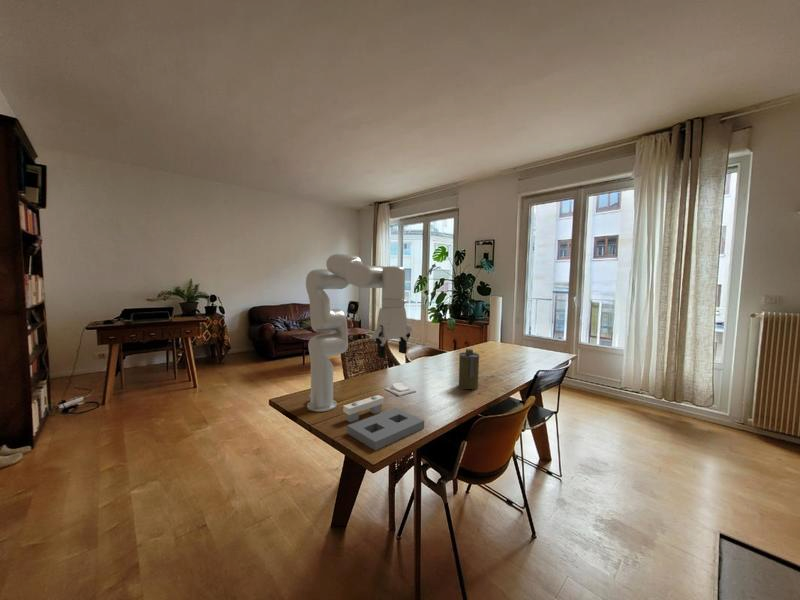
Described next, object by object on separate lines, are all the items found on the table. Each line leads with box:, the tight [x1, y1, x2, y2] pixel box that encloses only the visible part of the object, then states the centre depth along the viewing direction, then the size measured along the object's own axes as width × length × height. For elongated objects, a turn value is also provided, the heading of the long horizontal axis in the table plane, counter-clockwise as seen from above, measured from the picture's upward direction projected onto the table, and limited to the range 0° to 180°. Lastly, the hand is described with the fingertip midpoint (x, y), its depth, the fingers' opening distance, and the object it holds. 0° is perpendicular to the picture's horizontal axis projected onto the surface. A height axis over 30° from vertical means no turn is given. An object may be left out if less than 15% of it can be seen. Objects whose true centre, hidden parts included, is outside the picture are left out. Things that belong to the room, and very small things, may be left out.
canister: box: [458, 348, 480, 391], centre depth 170 cm, size 11×10×20 cm
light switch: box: [384, 382, 417, 397], centre depth 164 cm, size 11×4×13 cm
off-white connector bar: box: [342, 394, 385, 424], centre depth 133 cm, size 4×18×6 cm, turn 134°
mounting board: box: [346, 407, 425, 451], centre depth 120 cm, size 16×24×3 cm, turn 134°
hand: (392, 355), depth 108 cm, fingers open, 9 cm apart
